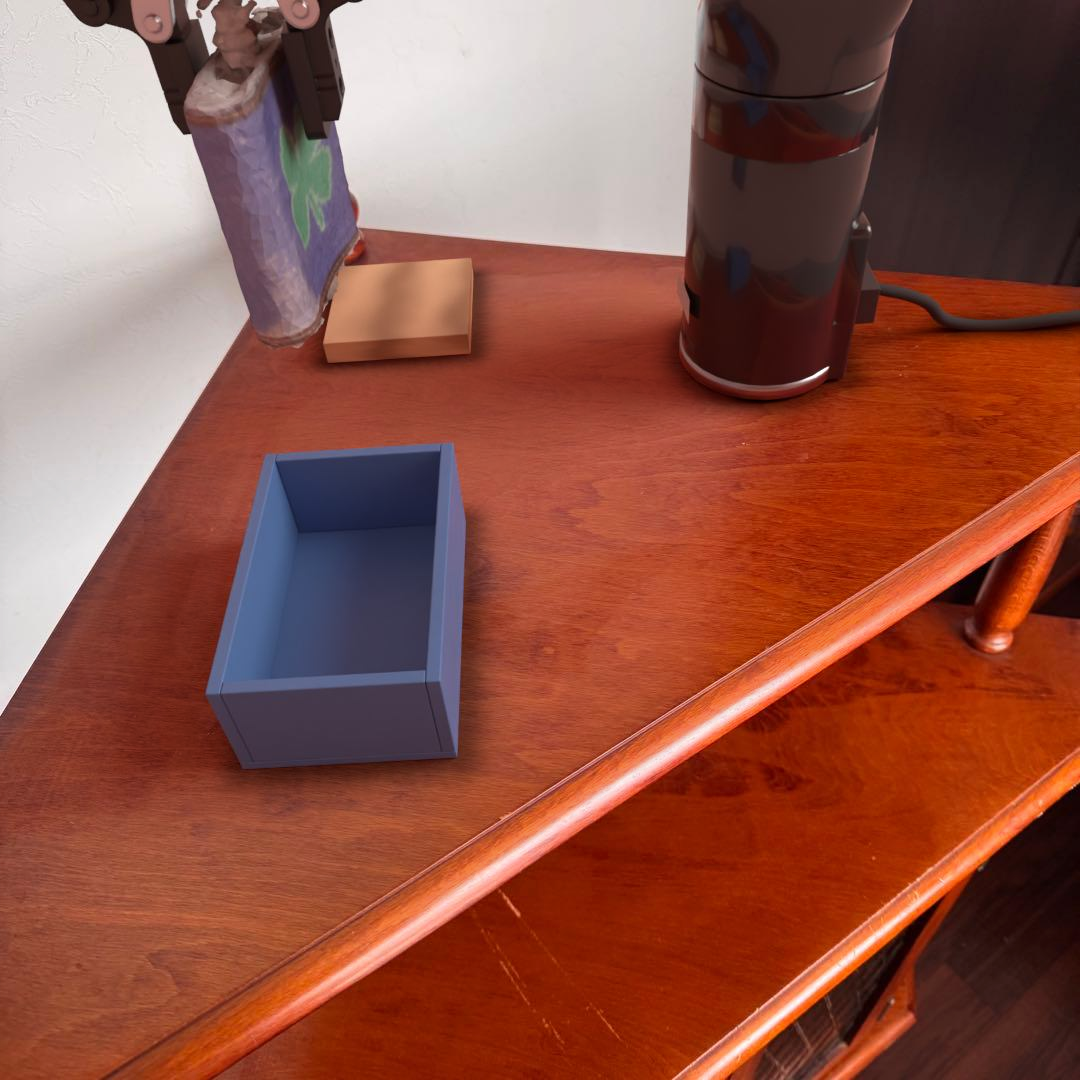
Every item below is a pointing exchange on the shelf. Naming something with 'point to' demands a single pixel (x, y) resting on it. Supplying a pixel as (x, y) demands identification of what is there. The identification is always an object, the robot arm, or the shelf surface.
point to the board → (401, 311)
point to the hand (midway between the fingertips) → (268, 133)
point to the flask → (269, 176)
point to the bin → (346, 611)
